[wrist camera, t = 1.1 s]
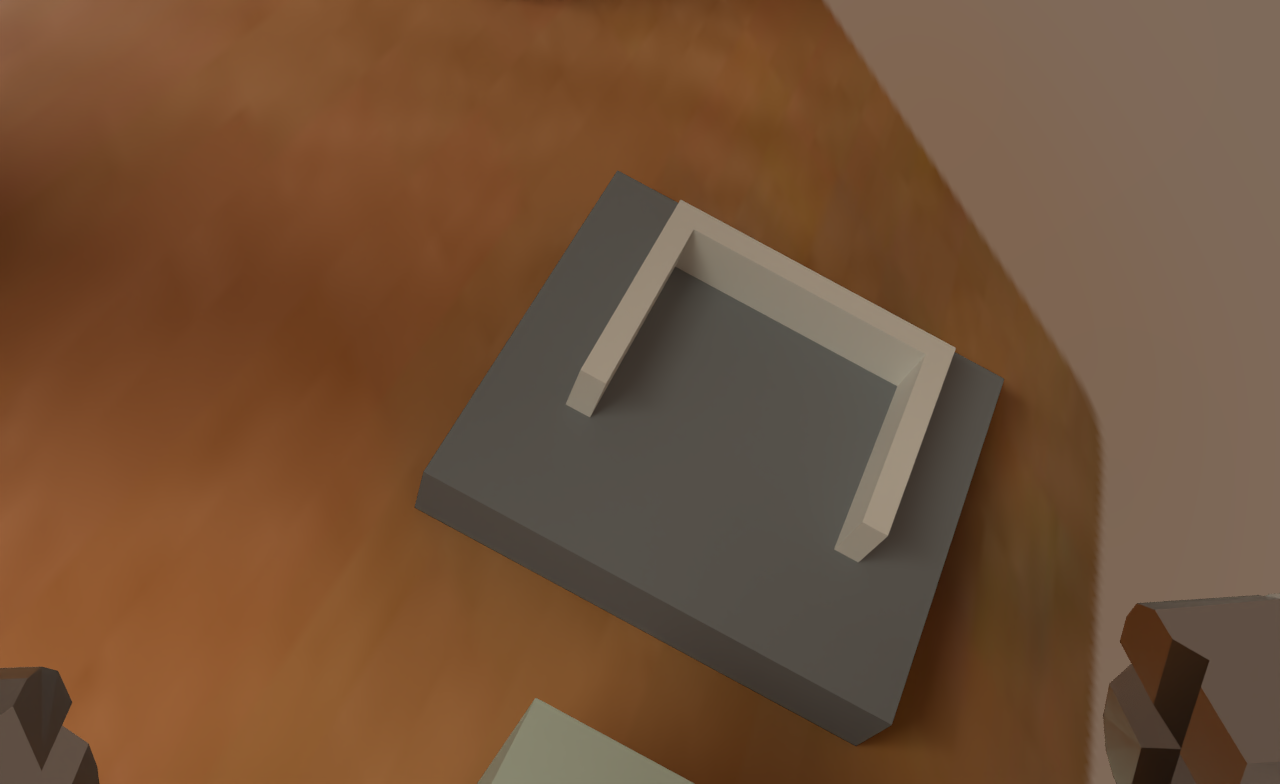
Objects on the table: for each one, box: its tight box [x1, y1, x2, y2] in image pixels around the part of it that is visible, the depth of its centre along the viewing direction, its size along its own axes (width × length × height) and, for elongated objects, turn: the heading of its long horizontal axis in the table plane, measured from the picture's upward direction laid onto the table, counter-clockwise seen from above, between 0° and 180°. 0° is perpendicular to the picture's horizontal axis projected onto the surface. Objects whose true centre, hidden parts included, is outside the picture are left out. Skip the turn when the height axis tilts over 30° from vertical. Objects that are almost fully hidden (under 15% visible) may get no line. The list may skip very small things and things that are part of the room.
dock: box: [415, 171, 1004, 746], centre depth 46 cm, size 18×16×6 cm
